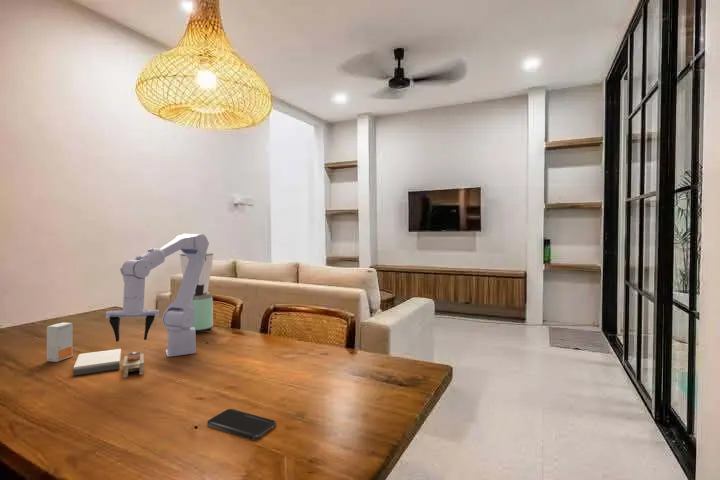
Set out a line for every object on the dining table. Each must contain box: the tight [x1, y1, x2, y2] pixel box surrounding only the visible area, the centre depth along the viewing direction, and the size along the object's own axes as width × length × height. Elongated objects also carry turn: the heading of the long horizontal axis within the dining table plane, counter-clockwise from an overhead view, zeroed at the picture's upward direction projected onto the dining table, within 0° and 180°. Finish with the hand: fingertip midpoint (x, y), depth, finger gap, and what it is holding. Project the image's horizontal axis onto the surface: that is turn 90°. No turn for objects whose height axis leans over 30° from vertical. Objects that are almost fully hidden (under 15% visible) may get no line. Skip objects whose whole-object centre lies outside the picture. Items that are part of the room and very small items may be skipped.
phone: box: [206, 408, 277, 440], centre depth 91 cm, size 8×1×15 cm
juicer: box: [179, 252, 214, 333], centre depth 169 cm, size 19×13×35 cm
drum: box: [126, 350, 141, 362], centre depth 124 cm, size 4×4×2 cm
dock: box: [72, 348, 122, 376], centre depth 128 cm, size 12×15×2 cm
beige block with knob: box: [122, 353, 145, 378], centre depth 124 cm, size 6×10×4 cm, turn 30°
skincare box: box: [46, 322, 74, 363], centre depth 134 cm, size 6×4×12 cm
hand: (131, 340), depth 124 cm, fingers open, 7 cm apart
